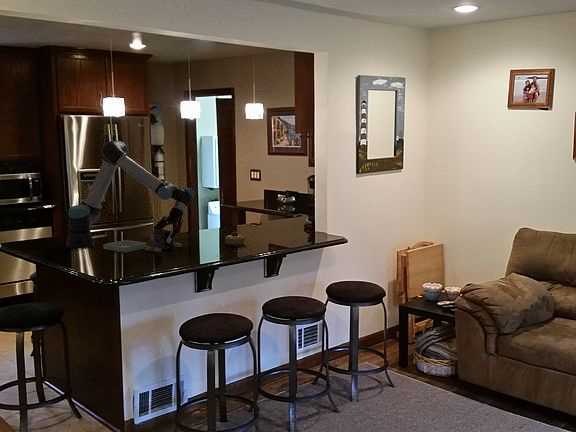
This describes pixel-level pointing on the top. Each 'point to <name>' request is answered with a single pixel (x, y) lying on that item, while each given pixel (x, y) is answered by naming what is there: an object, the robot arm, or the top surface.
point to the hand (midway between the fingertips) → (159, 241)
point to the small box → (162, 239)
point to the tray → (125, 246)
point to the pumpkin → (234, 239)
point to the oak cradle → (160, 248)
